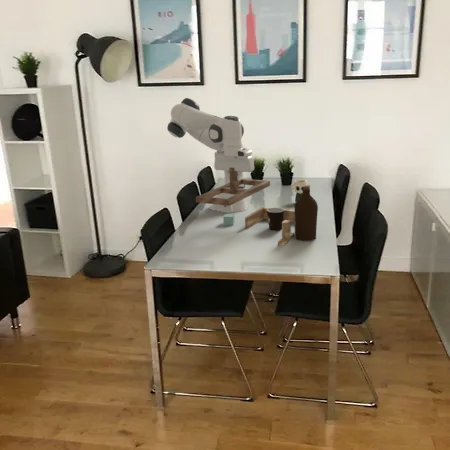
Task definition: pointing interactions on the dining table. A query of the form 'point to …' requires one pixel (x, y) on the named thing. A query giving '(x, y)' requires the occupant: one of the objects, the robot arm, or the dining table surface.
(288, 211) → the frame
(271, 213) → the coffee mug
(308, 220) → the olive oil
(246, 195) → the brown rectangular open frame
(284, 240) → the tan blocky wooden part
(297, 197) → the character mug
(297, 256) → the dining table surface
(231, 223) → the teal cube
